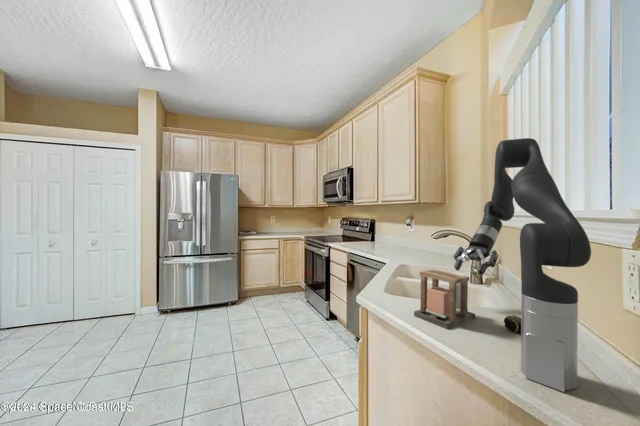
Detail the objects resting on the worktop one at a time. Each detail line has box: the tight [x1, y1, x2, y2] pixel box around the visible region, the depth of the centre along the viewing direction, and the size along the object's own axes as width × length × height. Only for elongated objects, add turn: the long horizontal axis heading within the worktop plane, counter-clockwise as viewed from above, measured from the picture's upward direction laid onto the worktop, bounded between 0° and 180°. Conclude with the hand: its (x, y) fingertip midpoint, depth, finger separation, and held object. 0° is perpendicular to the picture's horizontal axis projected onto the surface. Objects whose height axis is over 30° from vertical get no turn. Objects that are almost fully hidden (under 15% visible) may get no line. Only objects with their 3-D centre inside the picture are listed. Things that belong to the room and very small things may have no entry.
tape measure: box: [503, 314, 521, 334], centre depth 79 cm, size 7×7×4 cm
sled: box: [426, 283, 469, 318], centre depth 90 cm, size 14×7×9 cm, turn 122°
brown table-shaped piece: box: [413, 269, 476, 330], centre depth 89 cm, size 16×13×15 cm
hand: (467, 271), depth 97 cm, fingers open, 8 cm apart
